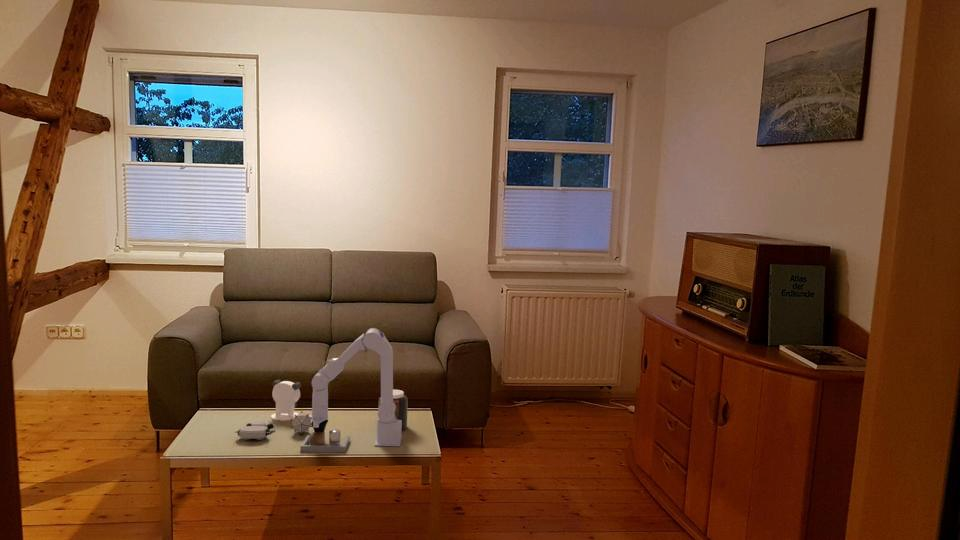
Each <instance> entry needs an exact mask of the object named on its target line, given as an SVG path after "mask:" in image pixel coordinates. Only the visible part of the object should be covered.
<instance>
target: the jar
mask: <svg viewBox="0 0 960 540" xmlns="http://www.w3.org/2000/svg"><path fill="white" fill-rule="evenodd" d="M393 400H394V403H395V405H396V409H395V417H396V419H397V420H402V431H401V433H402V432H404V431H406V430H407V429H408V407H409V406H408V405H409V404H408V401H409V400H408V397H407V396H406V395H405V392H404V390H400V389H393ZM380 403H381V396H380V397H379V398H378V407H377V409H378V411H379V407H380ZM378 411H377V412H378ZM405 429H406V430H405Z"/></svg>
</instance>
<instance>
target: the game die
mask: <svg viewBox="0 0 960 540" xmlns="http://www.w3.org/2000/svg"><path fill="white" fill-rule="evenodd" d="M298 414H299V415H297V416H296V415H295V418H294V419H291V420H290V421H291V422H292V423H291V426H290V428H289V429H292V428H293V430H294V432H298V433H300V435H301V436H302V435H303V433H305V432H309V429H310V428H313V427H312V425H311V423H312V419H311V418H309V415H310V413H307V414H305V413H303V410H301V412H300V413H298Z"/></svg>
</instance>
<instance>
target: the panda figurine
mask: <svg viewBox="0 0 960 540" xmlns="http://www.w3.org/2000/svg"><path fill="white" fill-rule="evenodd" d="M271 384H272V386H273V388H272V392H271V393H272V395H271V396H272V398H273V401H274V402H275V413H273V414H271V415H270V419H272V420H273V419H274V421H278V420H280V421H279V422H284V421H285V422H286V421H292V420H291V419H294V418H295V415H296V416H297V415H299V414H300V413H299V412H296V411H295V408H296V407H297V406H298V404H297V402H298V401H299V399H300V398H301V395H302V393H301V390H300V388H301V387H302V384H301V382H300V381H297V382H293V381H290V380H283V381H282V380H281V379H276V380H274V381H272V383H271Z"/></svg>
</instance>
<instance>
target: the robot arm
mask: <svg viewBox="0 0 960 540" xmlns="http://www.w3.org/2000/svg"><path fill="white" fill-rule="evenodd" d="M366 349H368V350H371V351H374V352H376V353H377V354H378V355H379V356H380V397H381V403H380V407H379V406H378V407H379V411H377V418H376V422H377V423H376V424H377V425H376V439H375V442H374V446H375V447H400V446H401V443H402V439H403V434H402V432H403V431H402V420H397V419H396V417H395V409H396V405H395V403H394V400H393V390H394V350H393V349H394V347H393V346H392V345H391V344H390V342H389V340H388V339H387V337H386V336H385V334H384V332H383V331H381V329H378V328H376V327H370V328H369V329H367V330H366V332H365V333H362V334H361V335H360V336H358V338H356V339H355V340H354V341H353V342H352V343H351V344H350V345H349V346H348V347H347V348H346V349H345V350H344V351H343V352H342V353H341V355H340V356H339V357H333V358H331V359H330V358H329V359H328V360H327V361H326V363H327V364H326V365H324V366H323V367H322V368H320V369H319V370H317V371H318V372H317V373H316V374H315V375H314V376H313V377H312V379H311V387H312V395H311V397H312V399H311V400H312V401H311V403H312V404H311V414H309V415H308V416H309V418H311V426H312V427H311V428H312V429H313V432H325V431H326V428H327V427H326V426H327V424H328V423H329V411H328V410H329V391H328V389H329V388H328V387H329V386H328V385H329V383H330V382H332V381H333V380H334V379H335V378H336V377H337V376H338V375H339V374H340V373H341V372H342V371H343V370H344V368H345V364H346V362H348V361H349V360H350V359H351V358H352V357H353V356H354V355H356V354H357V352H358V351H365V350H366ZM401 431H402V432H401Z"/></svg>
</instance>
